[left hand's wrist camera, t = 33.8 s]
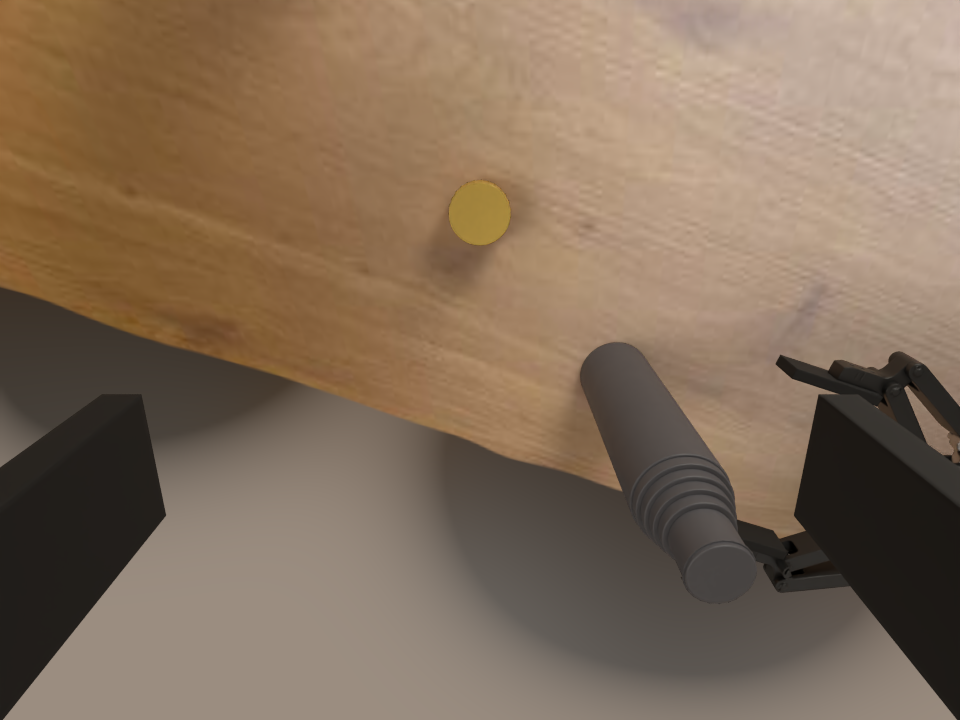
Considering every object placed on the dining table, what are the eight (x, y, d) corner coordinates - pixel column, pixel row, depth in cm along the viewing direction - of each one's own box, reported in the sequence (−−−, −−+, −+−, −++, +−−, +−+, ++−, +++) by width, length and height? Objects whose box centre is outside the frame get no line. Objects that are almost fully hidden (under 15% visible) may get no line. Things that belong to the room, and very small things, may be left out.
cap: (457, 247, 49) (456, 252, 47) (442, 188, 47) (440, 190, 45) (515, 233, 48) (517, 238, 47) (502, 172, 47) (503, 174, 45)
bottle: (569, 360, 52) (641, 553, 29) (633, 330, 51) (761, 505, 28) (596, 415, 54) (685, 639, 31) (658, 388, 53) (798, 597, 30)
